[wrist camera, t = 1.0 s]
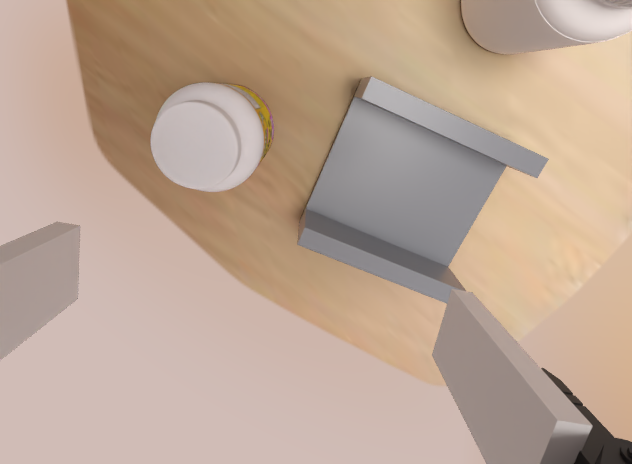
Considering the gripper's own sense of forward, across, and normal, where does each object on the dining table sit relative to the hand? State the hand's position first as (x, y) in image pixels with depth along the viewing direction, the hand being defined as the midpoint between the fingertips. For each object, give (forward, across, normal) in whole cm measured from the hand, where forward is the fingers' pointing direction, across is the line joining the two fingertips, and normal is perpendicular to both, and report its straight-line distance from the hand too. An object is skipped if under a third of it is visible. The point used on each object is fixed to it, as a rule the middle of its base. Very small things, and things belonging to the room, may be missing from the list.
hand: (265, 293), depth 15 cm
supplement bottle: (+22, -6, +4) cm, 23 cm away
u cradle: (+22, +9, +2) cm, 24 cm away
